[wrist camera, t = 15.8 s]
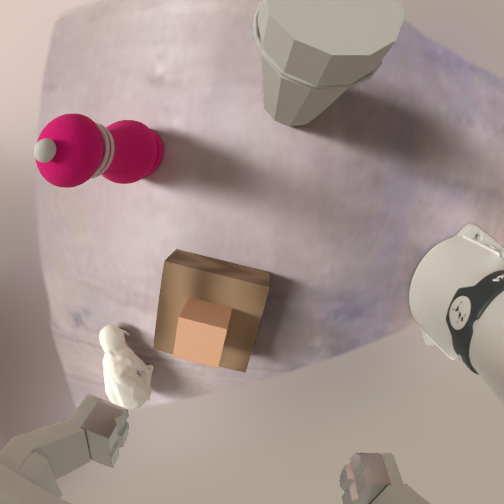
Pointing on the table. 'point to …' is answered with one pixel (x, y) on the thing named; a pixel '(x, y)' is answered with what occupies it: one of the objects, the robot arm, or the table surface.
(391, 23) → the water bottle
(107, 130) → the pepper mill
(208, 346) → the terracotta cube
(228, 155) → the table surface
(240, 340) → the walnut stand
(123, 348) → the penguin figurine
